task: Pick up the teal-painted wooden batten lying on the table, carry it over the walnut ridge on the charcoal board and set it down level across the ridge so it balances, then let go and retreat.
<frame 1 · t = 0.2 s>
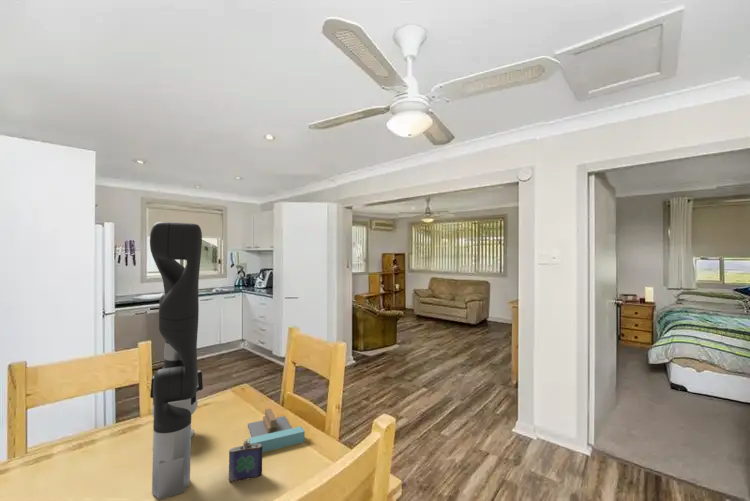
hand: (176, 406, 110), 17 cm above the table, tool pointing down, fingers open, 8 cm apart
fulcrum: (270, 430, 129), on the table
batten: (277, 446, 120), on the table
chalice: (174, 437, 124), on the table
flask: (245, 478, 103), on the table
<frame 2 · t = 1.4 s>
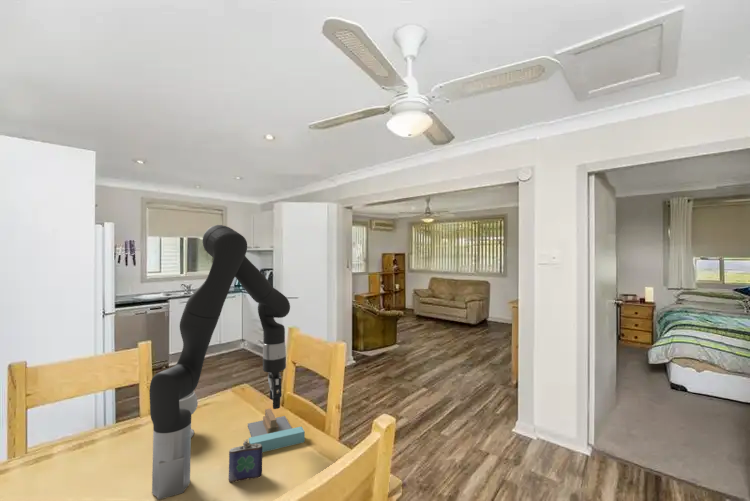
hand: (274, 403, 119), 15 cm above the table, tool pointing down, fingers open, 8 cm apart
nothing on the table moved.
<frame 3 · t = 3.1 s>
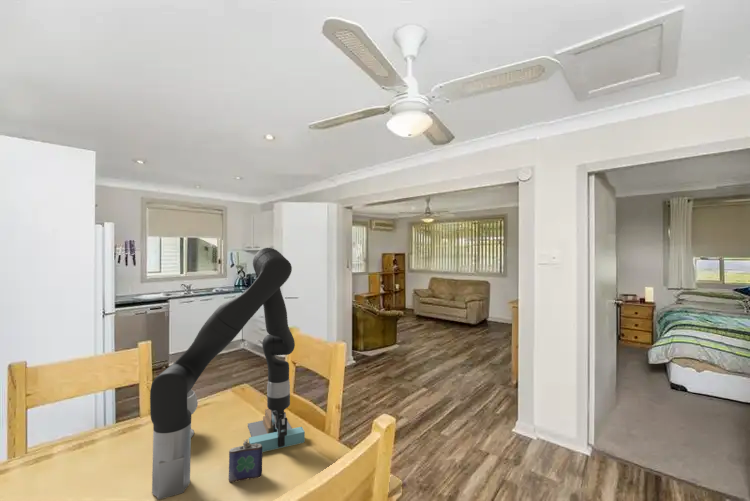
hand: (278, 440, 120), 2 cm above the table, tool pointing down, fingers open, 6 cm apart
nothing on the table moved.
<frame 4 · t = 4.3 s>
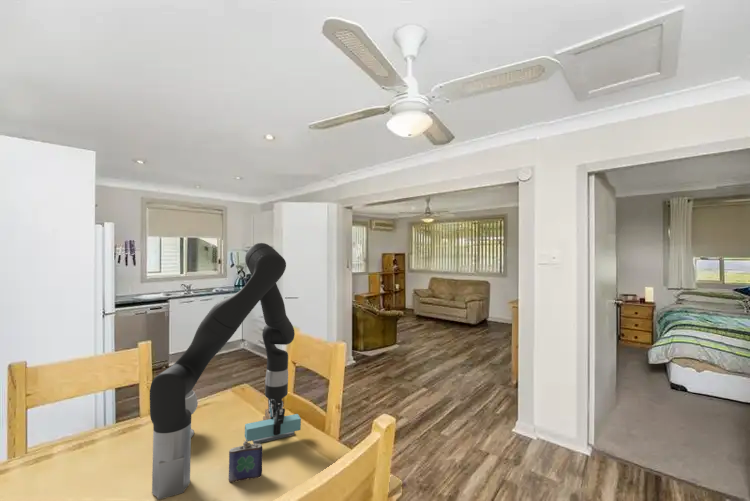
hand: (275, 430, 121), 4 cm above the table, tool pointing down, fingers closed on batten, 4 cm apart
batten: (273, 432, 120), point 4 cm above the table, touching gripper
everything else where it was.
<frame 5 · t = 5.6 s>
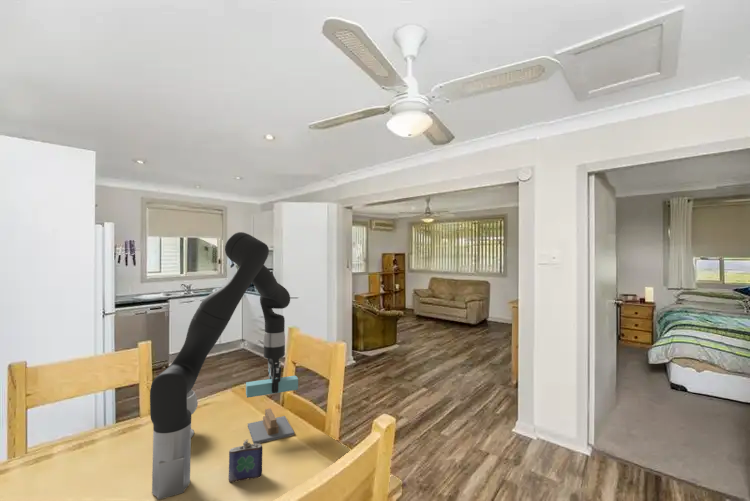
hand: (273, 389, 129), 15 cm above the table, tool pointing down, fingers closed on batten, 4 cm apart
batten: (272, 391, 128), point 15 cm above the table, touching gripper
everything else where it was.
when the fingers open (7 cm above the table, at t = 7.5 s): batten stays where it is, resting on fulcrum.
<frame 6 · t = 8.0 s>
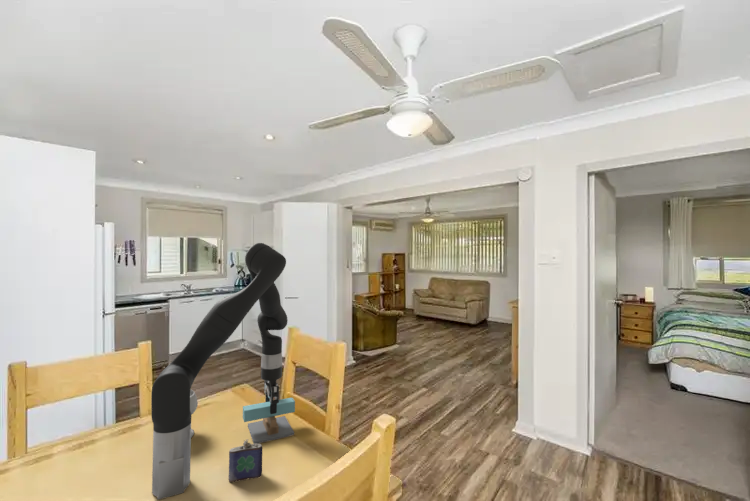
hand: (270, 408, 129), 8 cm above the table, tool pointing down, fingers open, 8 cm apart
batten: (269, 414, 129), point 6 cm above the table, touching fulcrum
everything else where it was.
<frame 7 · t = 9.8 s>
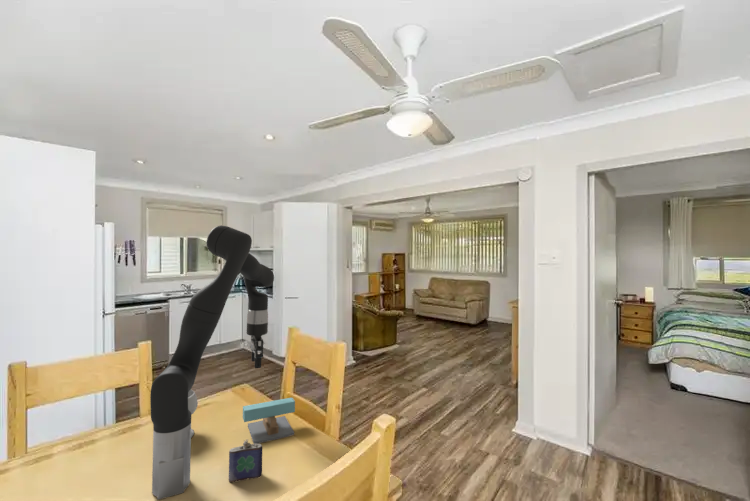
hand: (256, 364, 132), 24 cm above the table, tool pointing down, fingers open, 8 cm apart
nothing on the table moved.
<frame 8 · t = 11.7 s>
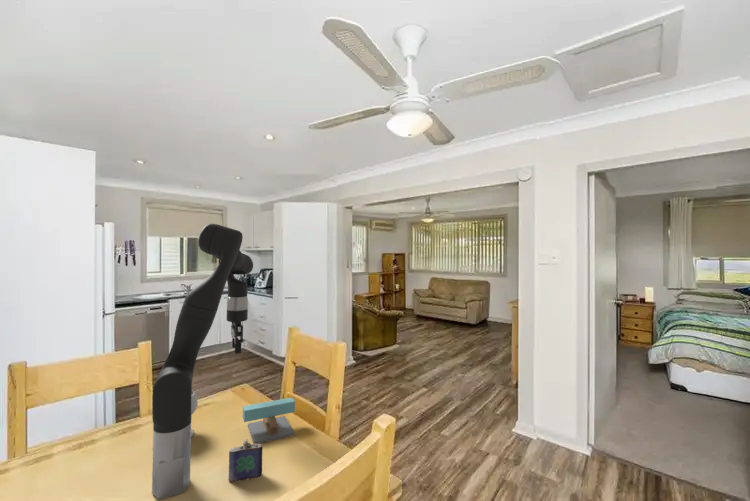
hand: (236, 350, 134), 28 cm above the table, tool pointing down, fingers open, 8 cm apart
nothing on the table moved.
at the end: batten 0.5 cm off-centre on the fulcrum, point 6.0 cm above the fulcrum's base; batten tilted 0°; the gripper is holding nothing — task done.
